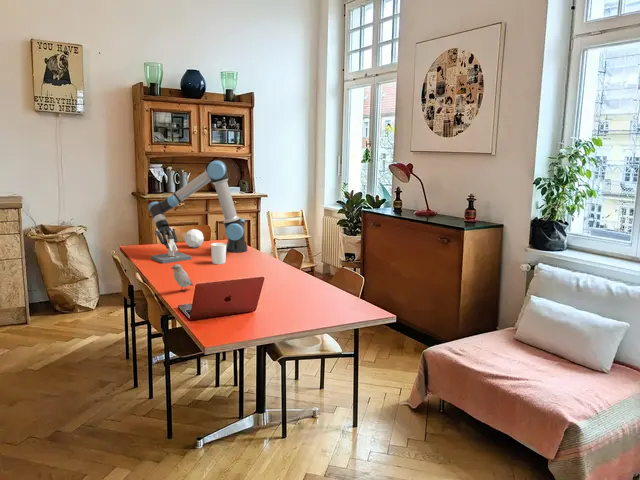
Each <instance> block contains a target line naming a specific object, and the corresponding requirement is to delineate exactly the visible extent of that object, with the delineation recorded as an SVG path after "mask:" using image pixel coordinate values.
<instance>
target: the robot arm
mask: <svg viewBox="0 0 640 480" xmlns="http://www.w3.org/2000/svg"><path fill="white" fill-rule="evenodd" d="M227 171H228V167H227V165H226V163H225V162H224V161H222V160H219V159H216V160H213V161H211V162H209V163H208V165H207V167H206V168H205V169H204V172H202V173H200V175H198V176H197V177H195V178H193V179H192V180H191V181H189V182H188V183H187V184H185V185H183V186H182V187H181V188H179V189H178V190H177V191H175V192H174V193H172V194H171V195H170V196H167V197H166V198H164V199H163V200H161V201H160V202H159V201H152V202H150V203H149V204H148V205H147V208H148V210H149V213H150V215H151V217H152V219H153V222H154V224H155V226H156V229H157V230H156V231H154V232H155V233H154V234H155V235H156V236H157V239H158V240H159V242H160V244H161V245H162V246H163V245H164V246H165V247H166V249H167V251H168V250H169V252H170V253H171V252H172V249H171V246H170V244H169V243H168V238H167V236H174V252H175V253H176V252H179V250H178V248H177V247H178V245H177V242H178V237H177V234H176V230H175V229H176V228H171V227H170V225H169V223H168V221H167V219H166V216H165V213H167V212H168V211H170V210H172V209H174V208H175V207H177V206H178V205H180V203H182V202H184V200H186V199H188V198H189V197H190V196H192V195H193V194H195V193H196V192H198V191H199V190H200V189H202V188H204V187H205V186H206V185H207V184H209V183H211V184H213V185H214V188H215V191H216V194H217V195H216V196H217V198H218V201H219V204H220V208H221V212H222V215H223V217H224V221H223V222H222V223H223V227H224V230H225V236H226V237H227V243H226V244H227V245H226V252H227V253H244V252H247V251H248V246H247V242H246V239H245V238H246V237H245V236H246V226H245V224H246V221H245V218H242V217H240V216H238V213H237V210H236V207H235V204H234V201H233V197H232V194H231V190H230V186H229V184H228V183H229V182H228V181H229V176H228V172H227Z"/></svg>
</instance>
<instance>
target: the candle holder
mask: <svg viewBox="0 0 640 480" xmlns="http://www.w3.org/2000/svg"><path fill="white" fill-rule="evenodd" d="M226 245H227V243H225V242H213V243H211V244H210V248H211V249H210V251H211V252H210V253H211V263H212V264H214V265H223V264H226V257H227V251H226Z"/></svg>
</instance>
